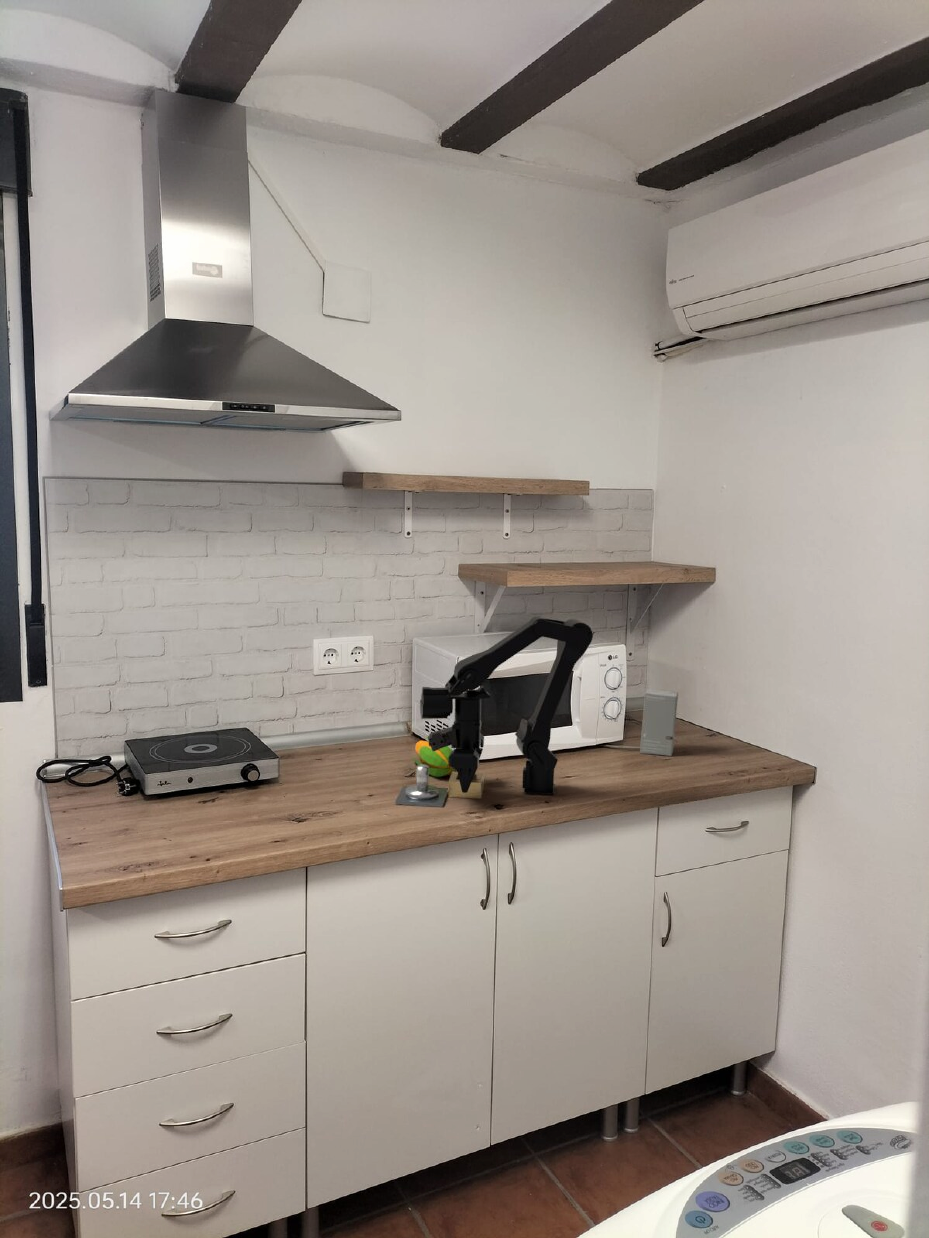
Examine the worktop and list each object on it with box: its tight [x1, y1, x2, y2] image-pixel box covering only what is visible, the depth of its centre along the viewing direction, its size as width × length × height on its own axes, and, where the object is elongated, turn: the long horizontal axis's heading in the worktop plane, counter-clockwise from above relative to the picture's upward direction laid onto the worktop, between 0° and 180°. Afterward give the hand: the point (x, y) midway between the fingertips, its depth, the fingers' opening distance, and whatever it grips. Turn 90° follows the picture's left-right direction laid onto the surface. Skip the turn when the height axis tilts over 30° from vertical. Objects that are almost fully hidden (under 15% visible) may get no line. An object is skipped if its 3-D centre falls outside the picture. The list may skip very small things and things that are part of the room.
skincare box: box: [639, 688, 679, 757], centre depth 235 cm, size 8×7×16 cm
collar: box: [447, 771, 484, 799], centre depth 200 cm, size 7×7×4 cm
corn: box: [411, 736, 456, 778], centre depth 216 cm, size 7×8×20 cm
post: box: [394, 764, 449, 808], centre depth 196 cm, size 10×10×7 cm
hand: (466, 787), depth 200 cm, fingers closed on collar, 7 cm apart
